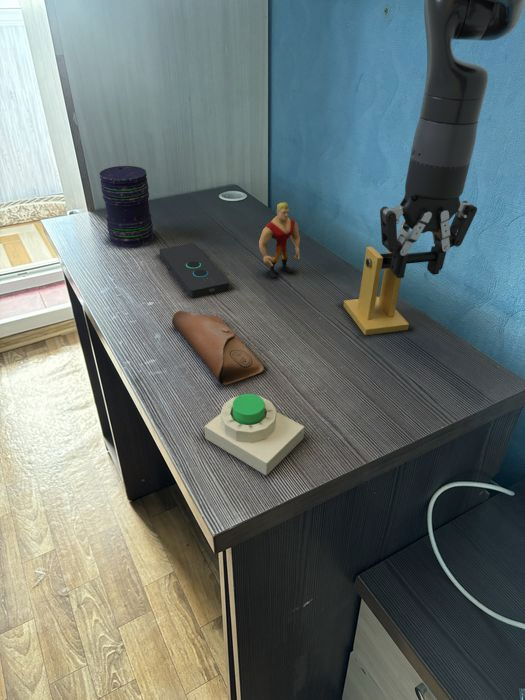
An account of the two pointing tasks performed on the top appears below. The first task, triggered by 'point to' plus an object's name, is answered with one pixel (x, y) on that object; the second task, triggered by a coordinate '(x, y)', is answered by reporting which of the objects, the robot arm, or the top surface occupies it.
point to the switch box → (255, 437)
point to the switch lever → (410, 258)
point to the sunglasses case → (217, 347)
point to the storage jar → (127, 206)
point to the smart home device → (194, 270)
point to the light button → (248, 409)
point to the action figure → (280, 238)
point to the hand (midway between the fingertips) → (415, 273)
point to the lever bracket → (376, 299)
